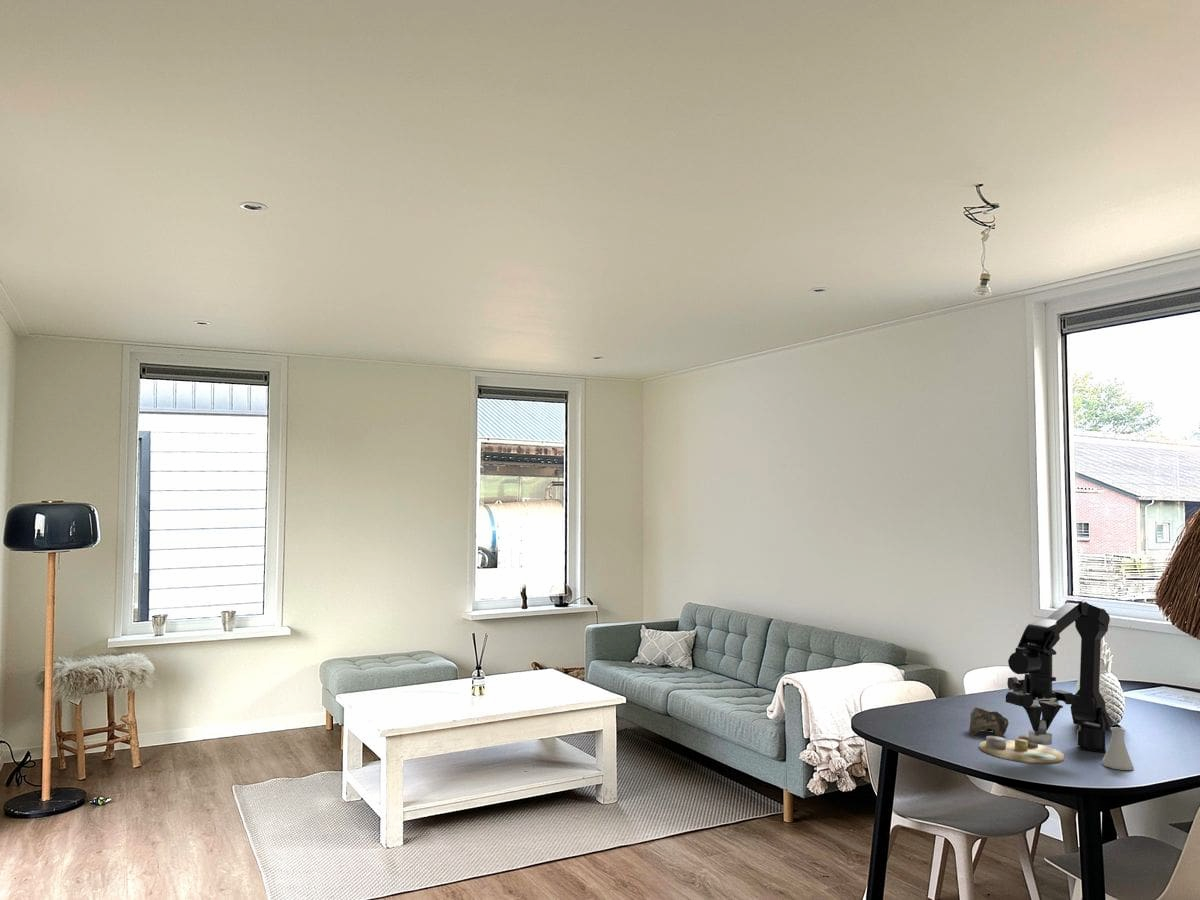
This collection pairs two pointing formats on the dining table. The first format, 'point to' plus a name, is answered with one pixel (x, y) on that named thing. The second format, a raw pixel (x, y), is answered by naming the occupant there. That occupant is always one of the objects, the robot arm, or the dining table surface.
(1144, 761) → the dining table surface
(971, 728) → the fossil
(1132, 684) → the dining table surface
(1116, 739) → the flask
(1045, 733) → the silver metal knob
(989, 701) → the dining table surface
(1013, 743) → the carrier plate
